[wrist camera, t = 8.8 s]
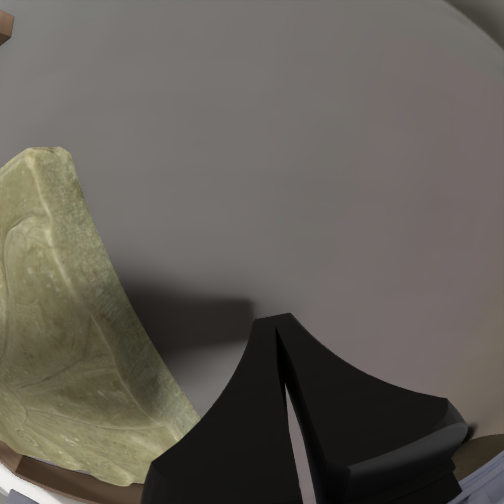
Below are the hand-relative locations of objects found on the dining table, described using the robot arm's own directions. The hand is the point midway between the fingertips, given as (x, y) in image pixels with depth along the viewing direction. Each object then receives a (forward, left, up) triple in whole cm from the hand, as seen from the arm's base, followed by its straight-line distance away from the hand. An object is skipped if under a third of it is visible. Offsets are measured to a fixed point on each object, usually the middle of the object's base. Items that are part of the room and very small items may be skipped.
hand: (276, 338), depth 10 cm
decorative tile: (-2, +15, -2) cm, 15 cm away
